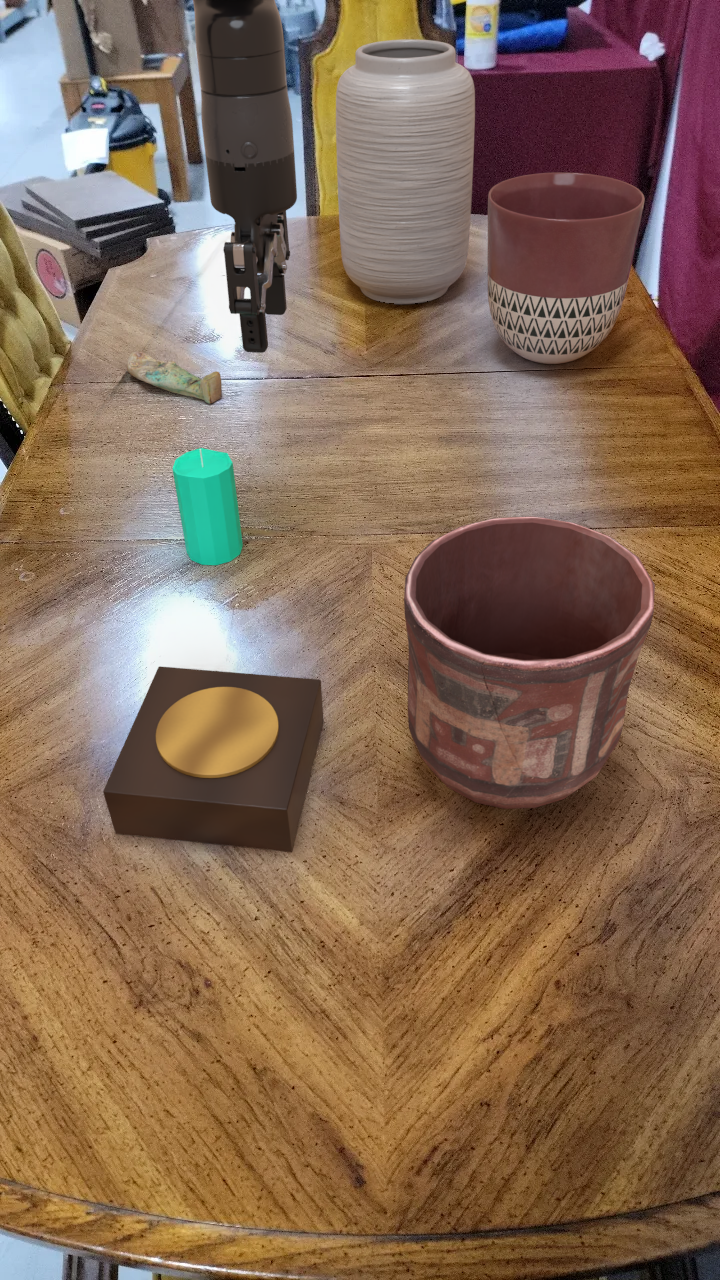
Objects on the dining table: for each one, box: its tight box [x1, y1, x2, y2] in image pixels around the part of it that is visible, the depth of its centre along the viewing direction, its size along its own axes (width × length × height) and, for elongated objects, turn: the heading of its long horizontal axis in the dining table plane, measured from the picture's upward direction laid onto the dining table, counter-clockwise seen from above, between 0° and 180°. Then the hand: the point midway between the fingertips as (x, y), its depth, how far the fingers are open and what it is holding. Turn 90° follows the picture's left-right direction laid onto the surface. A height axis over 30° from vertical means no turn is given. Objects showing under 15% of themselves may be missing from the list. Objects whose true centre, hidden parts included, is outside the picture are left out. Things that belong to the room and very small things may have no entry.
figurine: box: [126, 350, 223, 405], centre depth 133 cm, size 6×15×4 cm, turn 49°
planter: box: [486, 172, 646, 365], centre depth 132 cm, size 20×20×21 cm
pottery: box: [403, 515, 656, 810], centre depth 76 cm, size 18×18×18 cm
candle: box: [171, 447, 244, 566], centre depth 102 cm, size 6×6×12 cm
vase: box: [335, 38, 476, 305], centre depth 148 cm, size 20×20×34 cm
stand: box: [102, 666, 325, 853], centre depth 79 cm, size 14×14×5 cm
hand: (265, 331), depth 94 cm, fingers open, 8 cm apart
